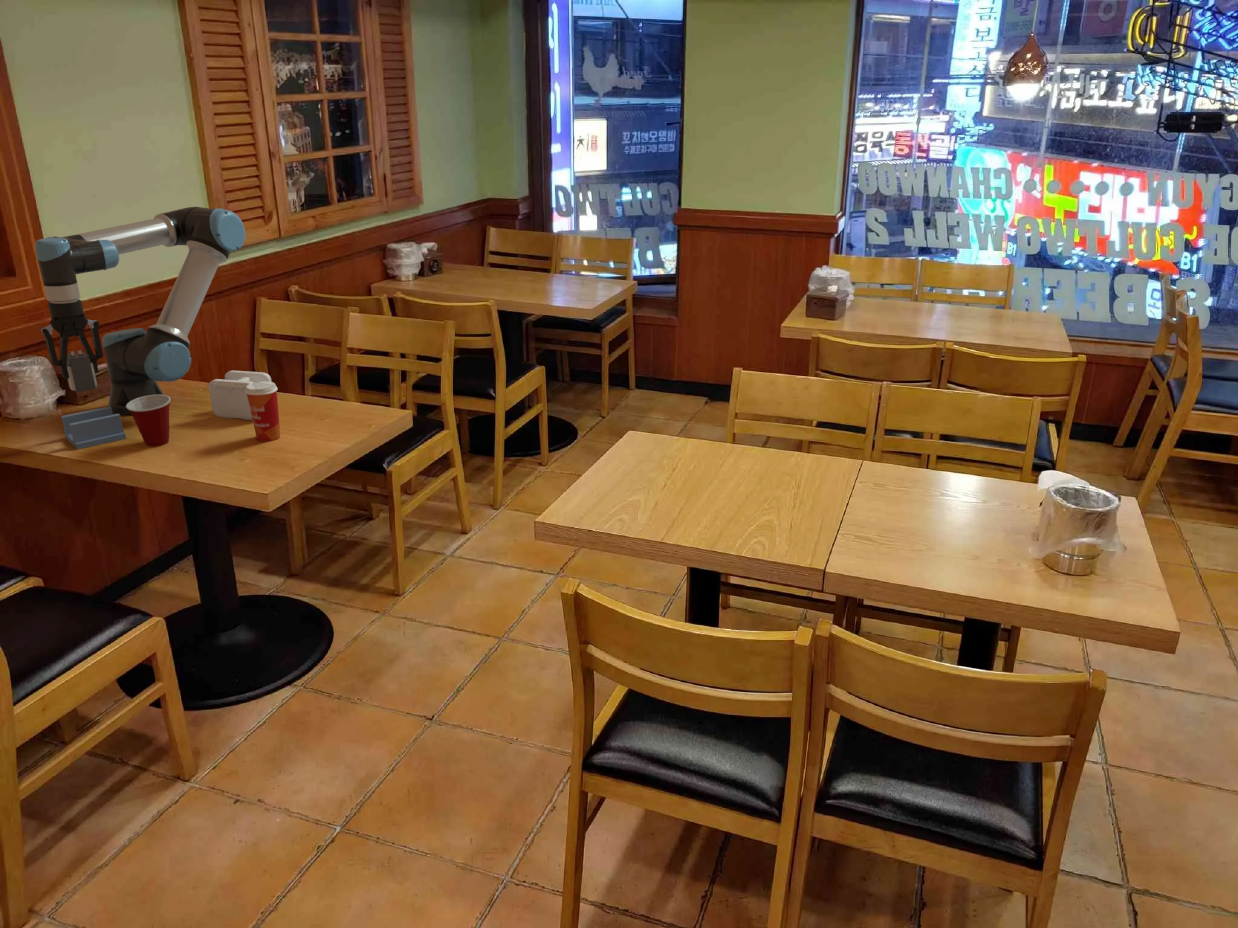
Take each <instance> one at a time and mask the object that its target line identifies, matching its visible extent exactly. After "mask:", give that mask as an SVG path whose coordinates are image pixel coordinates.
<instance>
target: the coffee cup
mask: <svg viewBox="0 0 1238 928" xmlns="http://www.w3.org/2000/svg"><path fill="white" fill-rule="evenodd" d="M278 388H279V387H277V385H276V383H275V382H273V381H271V382H269V381H262V382H259V383H257V382H256V383H252V384H249V385H247V386H246V390H245V393H246V394H247V397H248V402H249V406H250V411H251V415H252V420H251V421H252V425H253V428H254V432H255V436H256V439H257V441H259V442H273V441H275V440H279V439H280V436H281V432H280V431H281V429H280V417H279V416H280V414H279V404H278V392H277V391H278Z"/></svg>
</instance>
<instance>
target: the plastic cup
mask: <svg viewBox="0 0 1238 928" xmlns="http://www.w3.org/2000/svg"><path fill="white" fill-rule="evenodd" d="M170 403H171V397H170V396H169V395H166V394H164V395H148V396H143V397H139V398H136V399H134V400H132V401H130V402H129V403H127V405H126V408H127V409H128V410H129V411H130V412H131V414H130V415H131V416H132V417H133V420H134V422H135V424H136V427H137V429H138V431H139V433H140V435H141V438H142V440H143V442H144V444H145V446H147V447H161V446H165V445H167V444H168V443H169V442H170Z"/></svg>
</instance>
